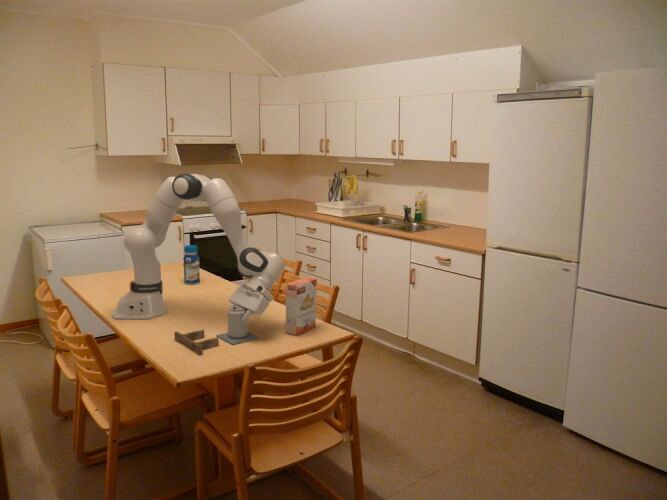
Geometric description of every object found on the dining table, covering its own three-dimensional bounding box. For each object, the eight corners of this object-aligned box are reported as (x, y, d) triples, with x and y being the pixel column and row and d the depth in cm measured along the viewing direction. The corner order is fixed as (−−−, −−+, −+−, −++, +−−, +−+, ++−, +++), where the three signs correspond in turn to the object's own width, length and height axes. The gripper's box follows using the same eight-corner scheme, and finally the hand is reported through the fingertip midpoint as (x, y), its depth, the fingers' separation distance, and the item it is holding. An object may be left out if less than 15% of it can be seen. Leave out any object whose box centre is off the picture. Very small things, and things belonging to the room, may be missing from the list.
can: (229, 332, 226) (228, 303, 224) (248, 332, 227) (247, 303, 224) (227, 339, 219) (226, 309, 216) (246, 339, 219) (246, 309, 217)
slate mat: (232, 345, 215) (232, 343, 214) (216, 336, 223) (216, 335, 223) (259, 338, 222) (259, 336, 222) (242, 330, 231) (242, 328, 231)
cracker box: (297, 336, 225) (297, 285, 221) (284, 333, 228) (285, 283, 224) (316, 326, 237) (317, 278, 233) (304, 324, 240) (305, 276, 236)
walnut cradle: (199, 355, 205) (199, 347, 204) (174, 339, 219) (174, 332, 219) (224, 348, 211) (223, 341, 210) (198, 333, 226) (197, 326, 225)
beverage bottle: (193, 280, 306) (191, 243, 302) (203, 282, 302) (202, 245, 297) (180, 283, 300) (179, 246, 296) (191, 285, 295) (189, 248, 291)
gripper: (238, 279, 231) (217, 306, 226) (266, 290, 216) (245, 319, 211) (247, 288, 235) (227, 315, 230) (276, 299, 220) (255, 328, 215)
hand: (236, 317), depth 221 cm, fingers closed on can, 7 cm apart
